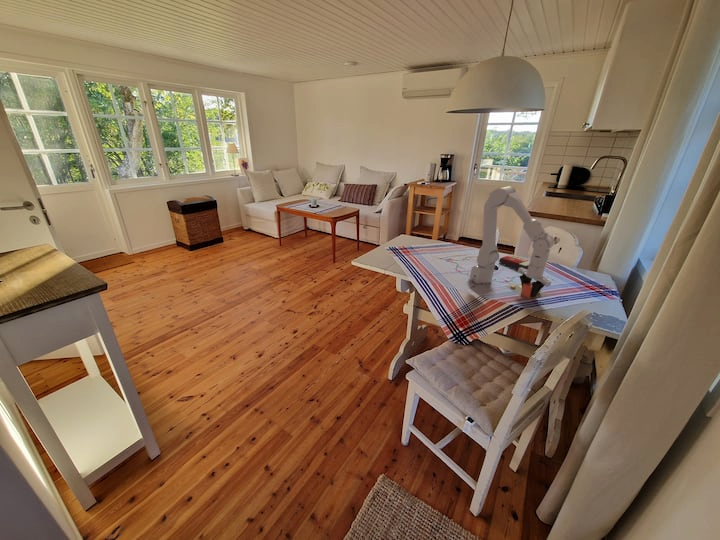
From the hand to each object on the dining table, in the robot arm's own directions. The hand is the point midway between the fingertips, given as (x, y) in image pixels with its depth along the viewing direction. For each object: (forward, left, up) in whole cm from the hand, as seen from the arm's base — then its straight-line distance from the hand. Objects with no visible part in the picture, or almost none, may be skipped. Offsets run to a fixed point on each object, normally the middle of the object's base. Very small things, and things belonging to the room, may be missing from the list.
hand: (528, 294), depth 124 cm
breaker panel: (+3, +4, -2) cm, 5 cm away
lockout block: (0, 0, -1) cm, 1 cm away
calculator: (+24, +30, -3) cm, 39 cm away
